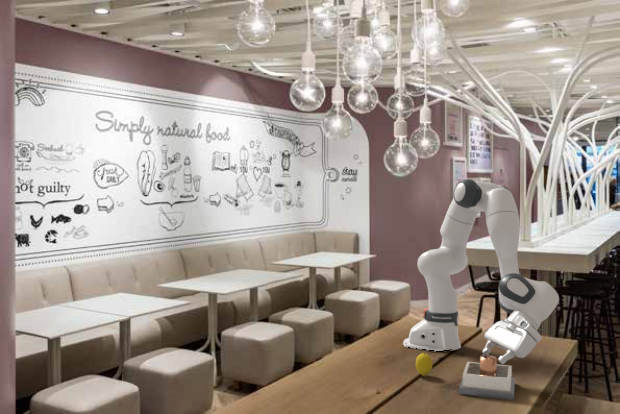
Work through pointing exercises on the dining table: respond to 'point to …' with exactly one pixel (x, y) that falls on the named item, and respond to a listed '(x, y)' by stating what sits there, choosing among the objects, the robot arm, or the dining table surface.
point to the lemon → (424, 364)
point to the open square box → (488, 382)
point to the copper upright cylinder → (488, 364)
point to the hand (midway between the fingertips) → (492, 358)
